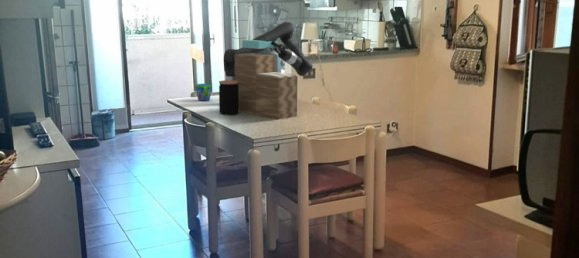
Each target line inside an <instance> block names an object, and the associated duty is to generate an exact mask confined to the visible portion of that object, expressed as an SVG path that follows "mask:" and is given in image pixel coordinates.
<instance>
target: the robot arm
mask: <svg viewBox="0 0 579 258" xmlns="http://www.w3.org/2000/svg"><path fill="white" fill-rule="evenodd" d="M294 27H295V26H294V24H293V23H291V22H290V21H284V22H282V23H280V24H278V25H277V26H276V27H273V28H272V29H271V30H269V31H267V32H264V33H263V34H261V35H258V36H256V37H255V38H253V39H252V40H257V41H266V42H270V41H272V42H271V44H272V45H273V46H274V47H268V48H265V49H255V48H244V47H241V48H235V49H234V48H228V49H226V50H225V51H224V53H223V70H224V72H225V80H234V81H235V54H251V53H255V54H260V53H262V52H264V51H265V50H268V49H269V50H270V52H275V53H276V54H277V56H278V58H279V59H281V60H282V61H283V62H285V63H286V64H288V65H290V66H291V67H292V68H293V69H294V70H295V72H296V75H297V76H300V77H304V76H306V75H308V74H309V72H311V71H312V70H313V68H314V67H313V64H312V62H311V61H309V59H307V57H306V56H305V54H304V53H303V50H302V49H301V48H300V47H299V46H298V45H296V44H295V42H294V41H293V34H294V32H295V31H294V30H295V29H294ZM278 39H279V40H280V41H281V42H282V44H280V43H278V44H277V43H276V42H277V40H278ZM274 41H275V42H274Z"/></svg>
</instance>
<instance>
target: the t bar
mask: <svg viewBox="0 0 579 258" xmlns="http://www.w3.org/2000/svg"><path fill="white" fill-rule="evenodd" d="M271 42H272V41H270V42H266V41H257V40H253V39H242V41H241V46H242V47H241V48H243V47H244V48H255V49H265V48H267V49H269V48H268V47H274V46H273V45H272V44H271ZM274 42H276V43H277V44H279V41H274Z"/></svg>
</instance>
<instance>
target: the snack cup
mask: <svg viewBox="0 0 579 258" xmlns="http://www.w3.org/2000/svg"><path fill="white" fill-rule="evenodd" d="M194 87H195V91H196V96H197V100H198V101H199V102H208V101H210V100H211V94H212V88H213V84H211V83H196V84H195V85H194Z"/></svg>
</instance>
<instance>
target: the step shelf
mask: <svg viewBox="0 0 579 258" xmlns="http://www.w3.org/2000/svg"><path fill="white" fill-rule="evenodd" d="M275 57H276V55H275V54H264V53H257V54H255V53H251V54H235V81H238V95H239V112H240V113H243V114H244V113H245V114H250V115H254V116H260V117H263V118H264V117H265V118H269V119H273V120H284V119H291V118H295V117H298V75H297V74H295V73H285V72H278V71H277V72H276V69H275V68H276V67H275V65H276V64H275V63H276V62H275Z"/></svg>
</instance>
